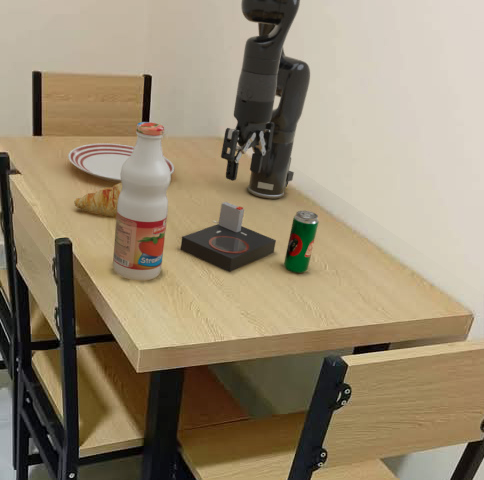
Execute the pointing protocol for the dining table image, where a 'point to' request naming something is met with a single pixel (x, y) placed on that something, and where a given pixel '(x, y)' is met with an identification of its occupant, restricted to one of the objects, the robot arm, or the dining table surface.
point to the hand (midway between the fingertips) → (242, 175)
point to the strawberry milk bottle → (142, 207)
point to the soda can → (301, 241)
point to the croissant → (101, 201)
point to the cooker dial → (231, 216)
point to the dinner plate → (104, 160)
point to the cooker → (201, 249)
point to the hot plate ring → (228, 244)
